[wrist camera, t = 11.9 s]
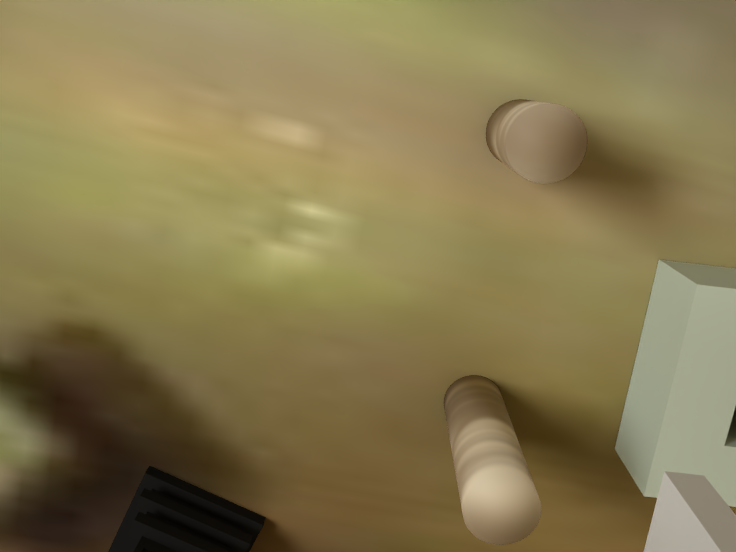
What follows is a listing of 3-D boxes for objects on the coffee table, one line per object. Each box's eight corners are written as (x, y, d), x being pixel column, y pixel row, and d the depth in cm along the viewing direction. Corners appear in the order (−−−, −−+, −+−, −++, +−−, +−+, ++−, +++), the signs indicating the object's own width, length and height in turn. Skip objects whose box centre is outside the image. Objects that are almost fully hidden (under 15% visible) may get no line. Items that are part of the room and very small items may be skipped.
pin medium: (448, 372, 41) (469, 472, 31) (506, 378, 41) (547, 481, 31) (439, 424, 42) (457, 540, 32) (497, 431, 42) (533, 548, 32)
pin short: (491, 95, 37) (514, 99, 30) (556, 103, 37) (594, 108, 30) (481, 161, 38) (501, 178, 31) (544, 169, 38) (578, 188, 31)
